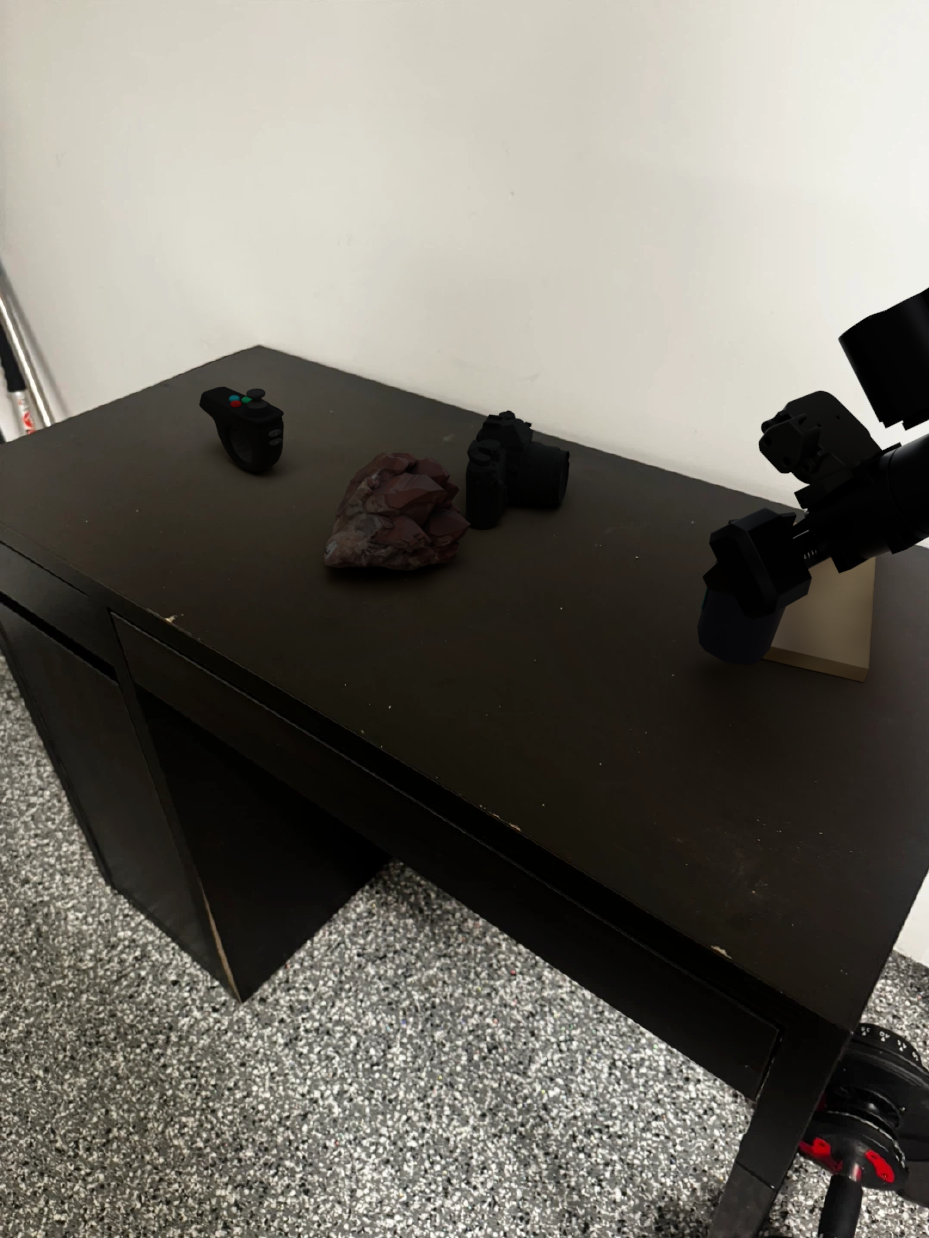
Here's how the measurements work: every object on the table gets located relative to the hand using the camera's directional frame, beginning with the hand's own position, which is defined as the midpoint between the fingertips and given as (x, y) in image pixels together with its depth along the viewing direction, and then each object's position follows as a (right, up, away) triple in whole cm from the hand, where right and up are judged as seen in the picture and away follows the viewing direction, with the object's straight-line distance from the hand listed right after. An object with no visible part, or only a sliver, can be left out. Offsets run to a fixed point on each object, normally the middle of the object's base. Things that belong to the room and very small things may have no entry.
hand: (741, 564), depth 67 cm
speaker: (+1, -6, +3) cm, 7 cm away
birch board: (+11, -2, +16) cm, 19 cm away
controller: (-46, +14, +37) cm, 61 cm away
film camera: (-15, +9, +31) cm, 35 cm away
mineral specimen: (-27, +1, +21) cm, 35 cm away
